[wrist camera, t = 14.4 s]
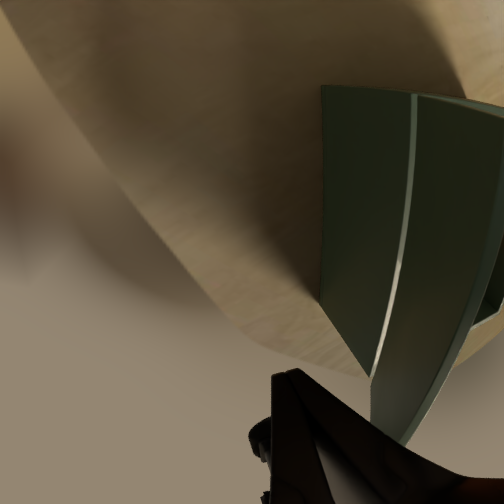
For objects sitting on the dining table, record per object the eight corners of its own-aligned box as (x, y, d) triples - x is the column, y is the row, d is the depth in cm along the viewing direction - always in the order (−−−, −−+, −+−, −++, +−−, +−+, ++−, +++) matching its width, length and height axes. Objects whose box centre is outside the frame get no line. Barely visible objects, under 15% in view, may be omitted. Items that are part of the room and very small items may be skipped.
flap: (375, 487, 11) (366, 487, 11) (377, 385, 16) (370, 385, 16) (522, 122, 4) (505, 118, 4) (427, 96, 9) (416, 95, 9)
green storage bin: (444, 267, 26) (499, 314, 19) (318, 304, 23) (368, 378, 17) (467, 99, 18) (547, 120, 12) (320, 84, 16) (410, 92, 9)
